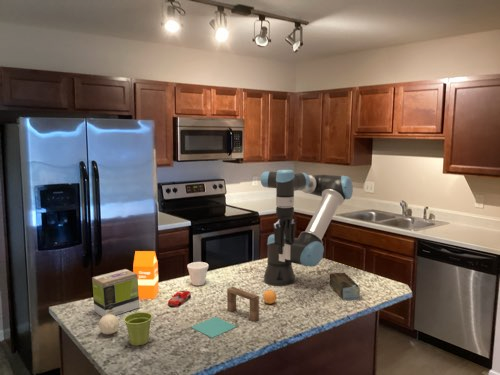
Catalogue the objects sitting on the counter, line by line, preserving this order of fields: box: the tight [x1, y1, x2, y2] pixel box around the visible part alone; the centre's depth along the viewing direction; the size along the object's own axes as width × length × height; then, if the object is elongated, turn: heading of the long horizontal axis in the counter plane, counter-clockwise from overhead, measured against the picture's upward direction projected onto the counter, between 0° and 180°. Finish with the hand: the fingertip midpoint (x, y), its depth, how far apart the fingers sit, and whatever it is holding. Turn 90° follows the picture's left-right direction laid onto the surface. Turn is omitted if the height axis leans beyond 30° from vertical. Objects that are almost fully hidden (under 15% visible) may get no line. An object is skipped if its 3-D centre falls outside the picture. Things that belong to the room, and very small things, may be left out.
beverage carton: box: [329, 272, 361, 301], centre depth 190 cm, size 8×19×7 cm, turn 6°
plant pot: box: [123, 311, 153, 347], centre depth 144 cm, size 9×9×9 cm
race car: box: [167, 290, 192, 308], centre depth 179 cm, size 13×5×4 cm, turn 157°
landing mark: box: [190, 316, 238, 339], centre depth 155 cm, size 12×12×1 cm
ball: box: [262, 289, 277, 305], centre depth 177 cm, size 6×6×6 cm
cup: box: [186, 261, 209, 287], centre depth 200 cm, size 10×10×9 cm
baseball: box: [98, 314, 120, 335], centre depth 150 cm, size 7×7×7 cm
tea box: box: [91, 268, 140, 318], centre depth 170 cm, size 15×10×15 cm, turn 134°
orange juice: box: [132, 250, 160, 300], centre depth 185 cm, size 8×9×20 cm
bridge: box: [226, 286, 260, 322], centre depth 166 cm, size 3×14×9 cm, turn 46°
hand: (284, 260), depth 182 cm, fingers open, 3 cm apart
